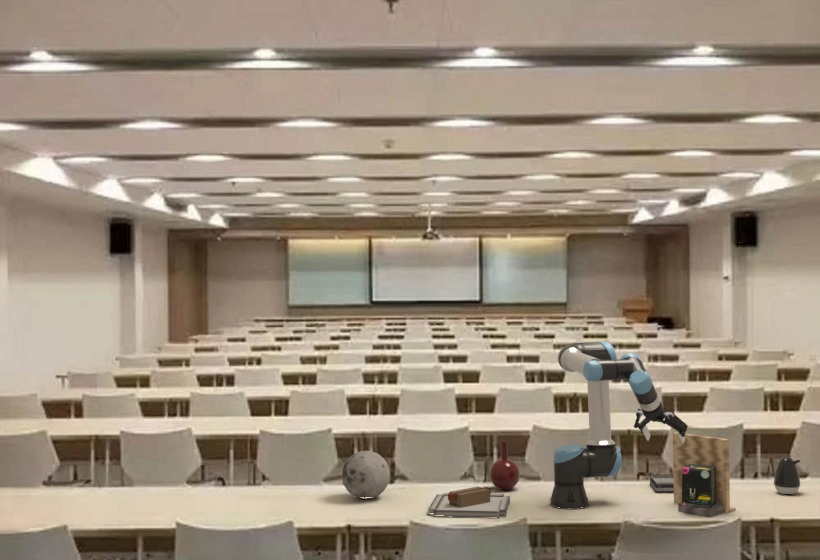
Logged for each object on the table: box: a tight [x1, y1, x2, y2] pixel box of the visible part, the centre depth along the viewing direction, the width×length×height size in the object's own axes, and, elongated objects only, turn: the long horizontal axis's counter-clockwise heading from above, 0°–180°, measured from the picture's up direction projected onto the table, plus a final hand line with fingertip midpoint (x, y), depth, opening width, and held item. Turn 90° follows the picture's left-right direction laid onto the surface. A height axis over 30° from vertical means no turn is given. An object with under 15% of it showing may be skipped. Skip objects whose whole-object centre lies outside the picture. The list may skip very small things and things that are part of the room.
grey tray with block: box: [427, 486, 511, 519], centre depth 400 cm, size 30×30×8 cm
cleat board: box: [672, 431, 737, 518], centre depth 392 cm, size 24×16×28 cm, turn 40°
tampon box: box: [682, 464, 716, 508], centre depth 386 cm, size 11×9×15 cm
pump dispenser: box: [773, 456, 801, 495], centre depth 415 cm, size 10×10×15 cm
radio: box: [649, 475, 674, 494], centre depth 429 cm, size 24×5×20 cm
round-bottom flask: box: [489, 442, 521, 491], centre depth 433 cm, size 13×13×20 cm
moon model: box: [341, 450, 391, 498], centre depth 421 cm, size 20×20×20 cm
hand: (666, 439), depth 379 cm, fingers open, 13 cm apart
